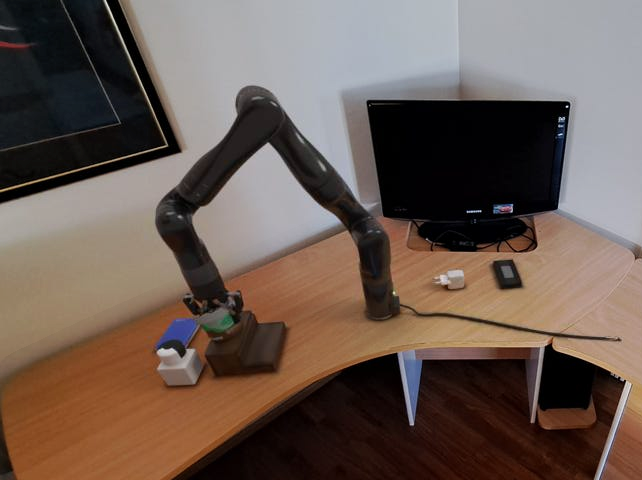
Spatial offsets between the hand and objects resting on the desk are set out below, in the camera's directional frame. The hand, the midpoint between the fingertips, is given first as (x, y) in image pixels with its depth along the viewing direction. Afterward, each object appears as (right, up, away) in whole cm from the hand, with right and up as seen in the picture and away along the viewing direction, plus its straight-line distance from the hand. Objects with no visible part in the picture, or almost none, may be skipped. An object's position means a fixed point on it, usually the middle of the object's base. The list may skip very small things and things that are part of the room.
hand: (225, 322), depth 122 cm
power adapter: (+59, +11, +35) cm, 69 cm away
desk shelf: (+3, -9, +9) cm, 13 cm away
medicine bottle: (-11, -15, +1) cm, 19 cm away
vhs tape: (+80, +15, +40) cm, 91 cm away
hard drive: (-21, -5, +12) cm, 25 cm away
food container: (+1, -2, +2) cm, 4 cm away
